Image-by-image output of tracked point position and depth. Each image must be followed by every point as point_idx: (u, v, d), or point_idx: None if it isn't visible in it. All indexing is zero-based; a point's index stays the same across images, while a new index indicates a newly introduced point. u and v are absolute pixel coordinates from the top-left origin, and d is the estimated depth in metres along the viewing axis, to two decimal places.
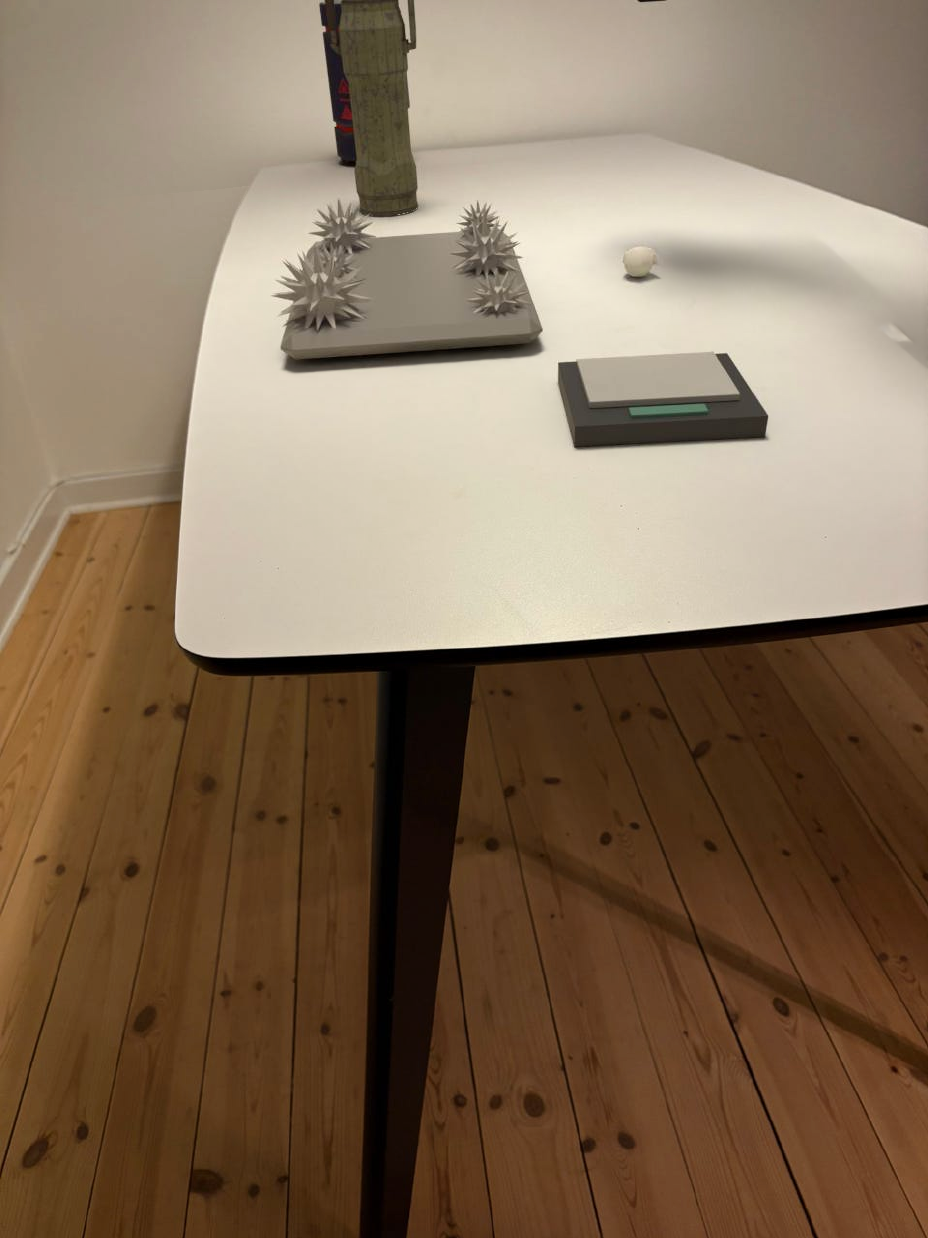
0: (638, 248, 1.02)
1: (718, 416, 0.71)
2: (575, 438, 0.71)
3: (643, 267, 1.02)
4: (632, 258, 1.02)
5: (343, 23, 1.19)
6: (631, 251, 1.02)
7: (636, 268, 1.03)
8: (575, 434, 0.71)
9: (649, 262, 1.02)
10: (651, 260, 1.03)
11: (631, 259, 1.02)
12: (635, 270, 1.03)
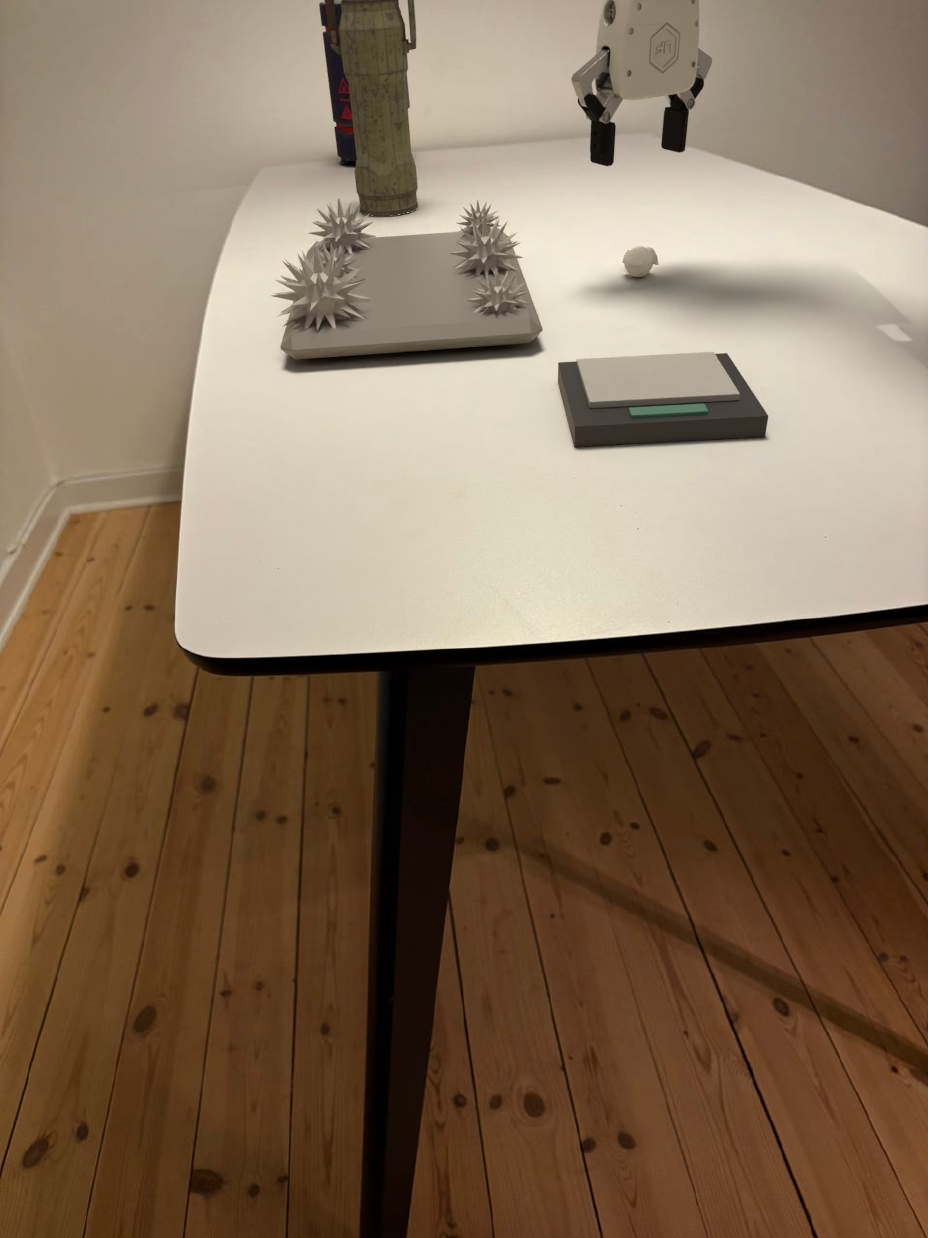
0: (638, 248, 1.02)
1: (718, 416, 0.71)
2: (575, 438, 0.71)
3: (643, 267, 1.02)
4: (632, 258, 1.02)
5: (343, 23, 1.19)
6: (631, 251, 1.02)
7: (636, 268, 1.03)
8: (575, 434, 0.71)
9: (649, 262, 1.02)
10: (651, 260, 1.03)
11: (631, 259, 1.02)
12: (635, 270, 1.03)
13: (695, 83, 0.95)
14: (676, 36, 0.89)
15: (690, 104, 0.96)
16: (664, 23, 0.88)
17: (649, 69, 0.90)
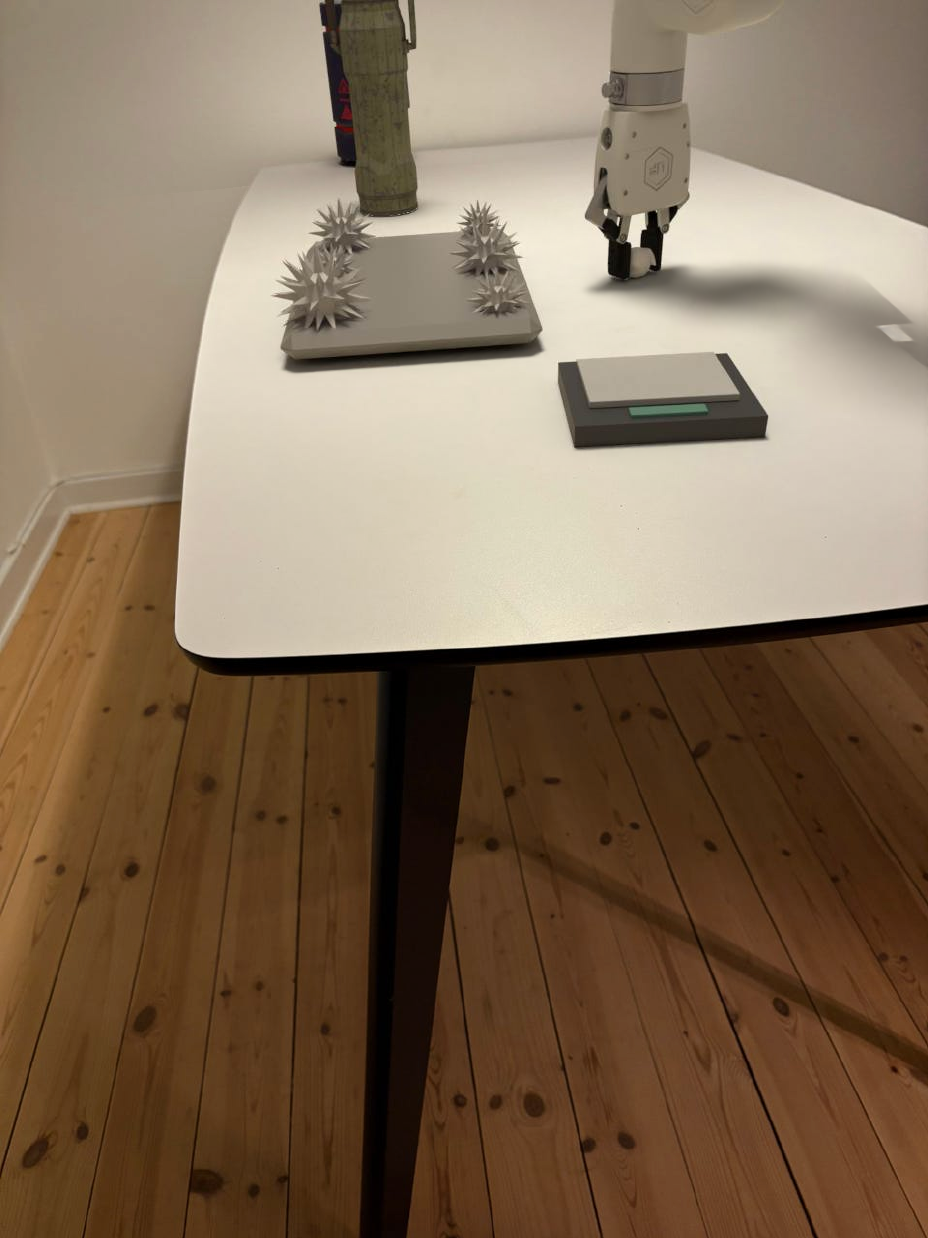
0: (636, 249, 1.02)
1: (718, 416, 0.71)
2: (575, 438, 0.71)
3: (641, 268, 1.02)
4: None
5: (343, 23, 1.19)
6: None
7: (634, 269, 1.02)
8: (575, 434, 0.71)
9: (647, 263, 1.02)
10: (649, 261, 1.02)
11: None
12: (633, 271, 1.03)
13: (669, 210, 1.02)
14: (669, 157, 0.96)
15: (665, 229, 1.02)
16: (657, 147, 0.94)
17: (644, 188, 0.96)
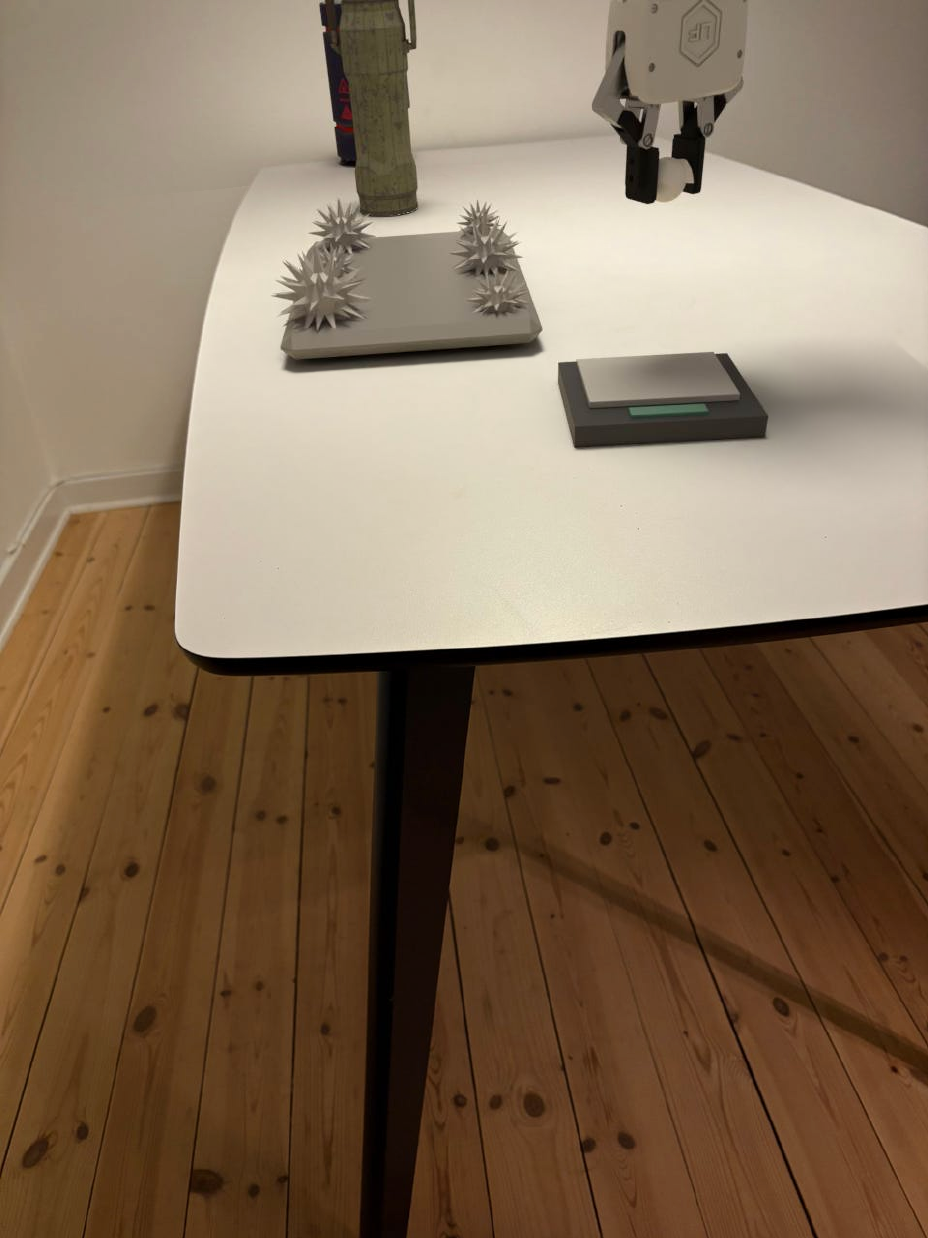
0: (665, 159, 0.72)
1: (718, 416, 0.71)
2: (575, 438, 0.71)
3: (672, 186, 0.72)
4: None
5: (344, 23, 1.19)
6: None
7: (662, 188, 0.72)
8: (575, 434, 0.71)
9: (681, 179, 0.72)
10: (684, 176, 0.72)
11: None
12: (661, 191, 0.72)
13: (714, 102, 0.71)
14: (717, 15, 0.65)
15: (707, 130, 0.71)
16: None
17: (679, 61, 0.65)
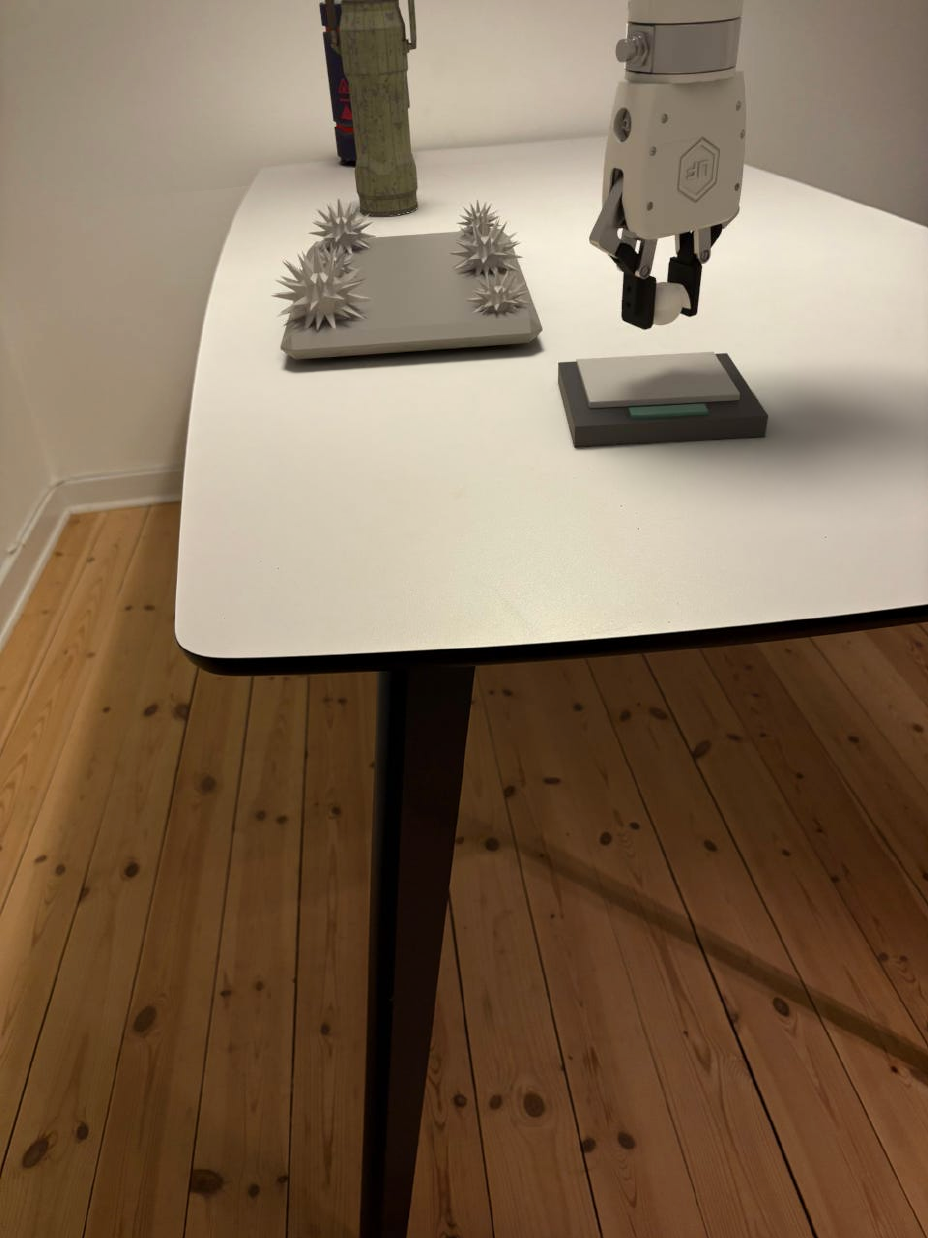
0: (662, 285, 0.71)
1: (718, 416, 0.71)
2: (575, 438, 0.71)
3: (669, 312, 0.71)
4: None
5: (344, 23, 1.19)
6: None
7: (659, 314, 0.71)
8: (575, 434, 0.71)
9: (678, 305, 0.71)
10: (680, 302, 0.71)
11: None
12: (657, 317, 0.72)
13: (710, 229, 0.70)
14: (715, 153, 0.64)
15: (704, 257, 0.71)
16: (698, 138, 0.63)
17: (677, 199, 0.65)
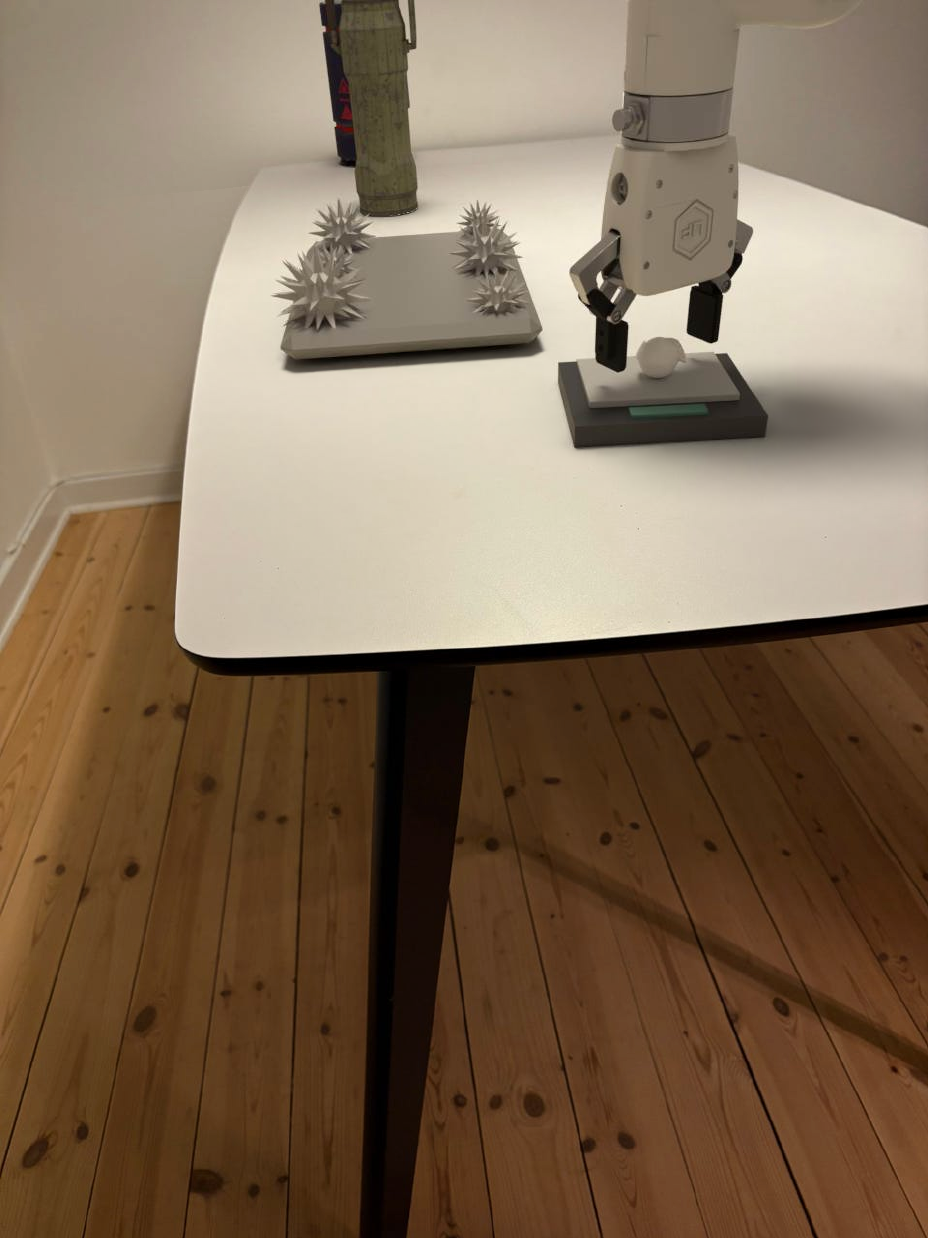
0: (658, 340, 0.74)
1: (718, 416, 0.71)
2: (575, 438, 0.71)
3: (665, 367, 0.74)
4: (650, 355, 0.73)
5: (344, 23, 1.19)
6: (648, 345, 0.74)
7: (655, 368, 0.74)
8: (575, 434, 0.71)
9: (673, 360, 0.74)
10: (676, 357, 0.74)
11: (649, 356, 0.74)
12: (654, 371, 0.74)
13: (731, 260, 0.73)
14: (708, 214, 0.67)
15: (725, 286, 0.74)
16: (692, 200, 0.66)
17: (673, 258, 0.67)
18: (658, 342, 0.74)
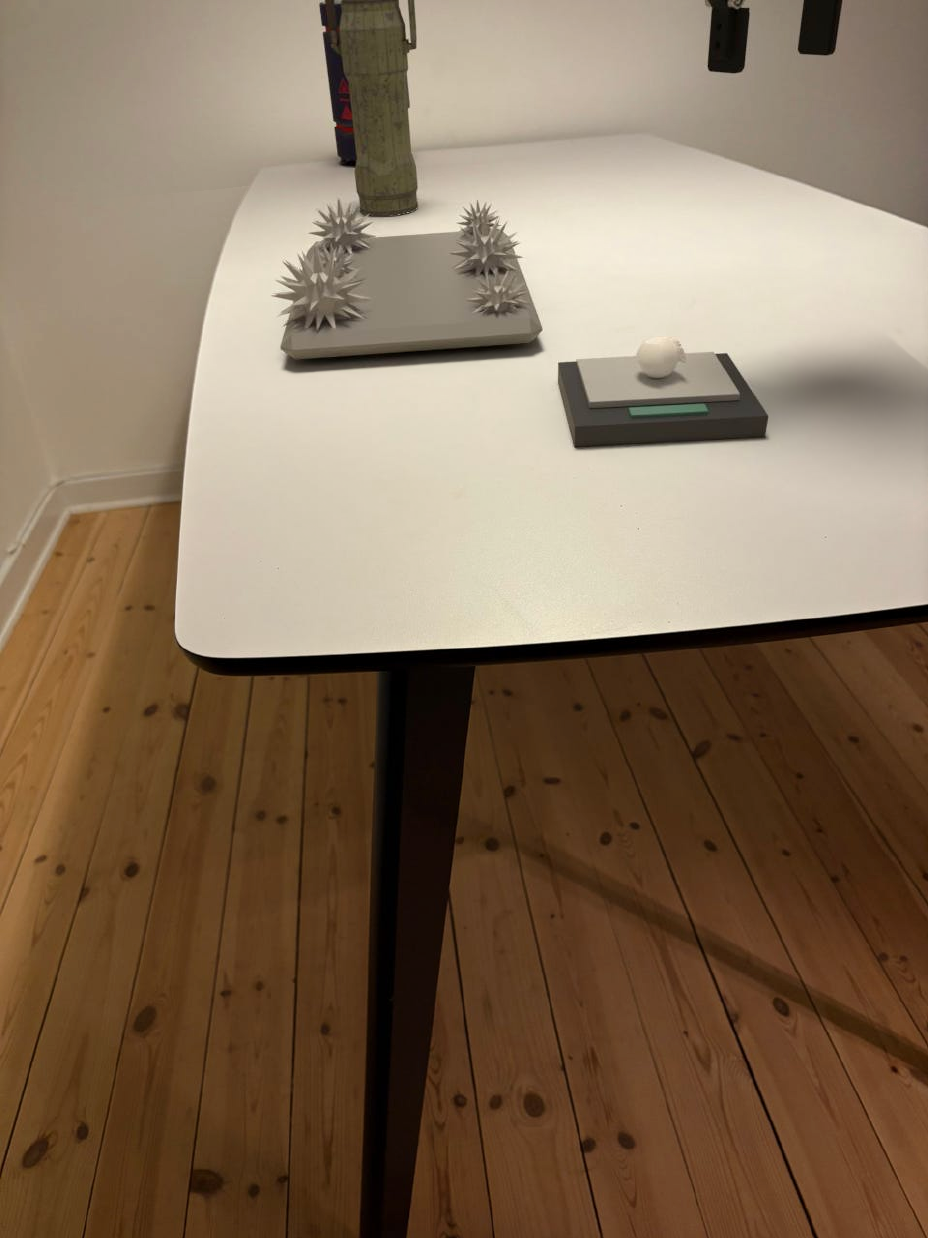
0: (658, 340, 0.74)
1: (718, 416, 0.71)
2: (575, 438, 0.71)
3: (665, 367, 0.74)
4: (650, 355, 0.73)
5: (344, 23, 1.19)
6: (648, 345, 0.74)
7: (655, 368, 0.74)
8: (575, 434, 0.71)
9: (673, 360, 0.74)
10: (676, 357, 0.74)
11: (649, 356, 0.74)
12: (654, 371, 0.74)
13: None
14: None
15: None
16: None
17: None
18: (658, 342, 0.74)
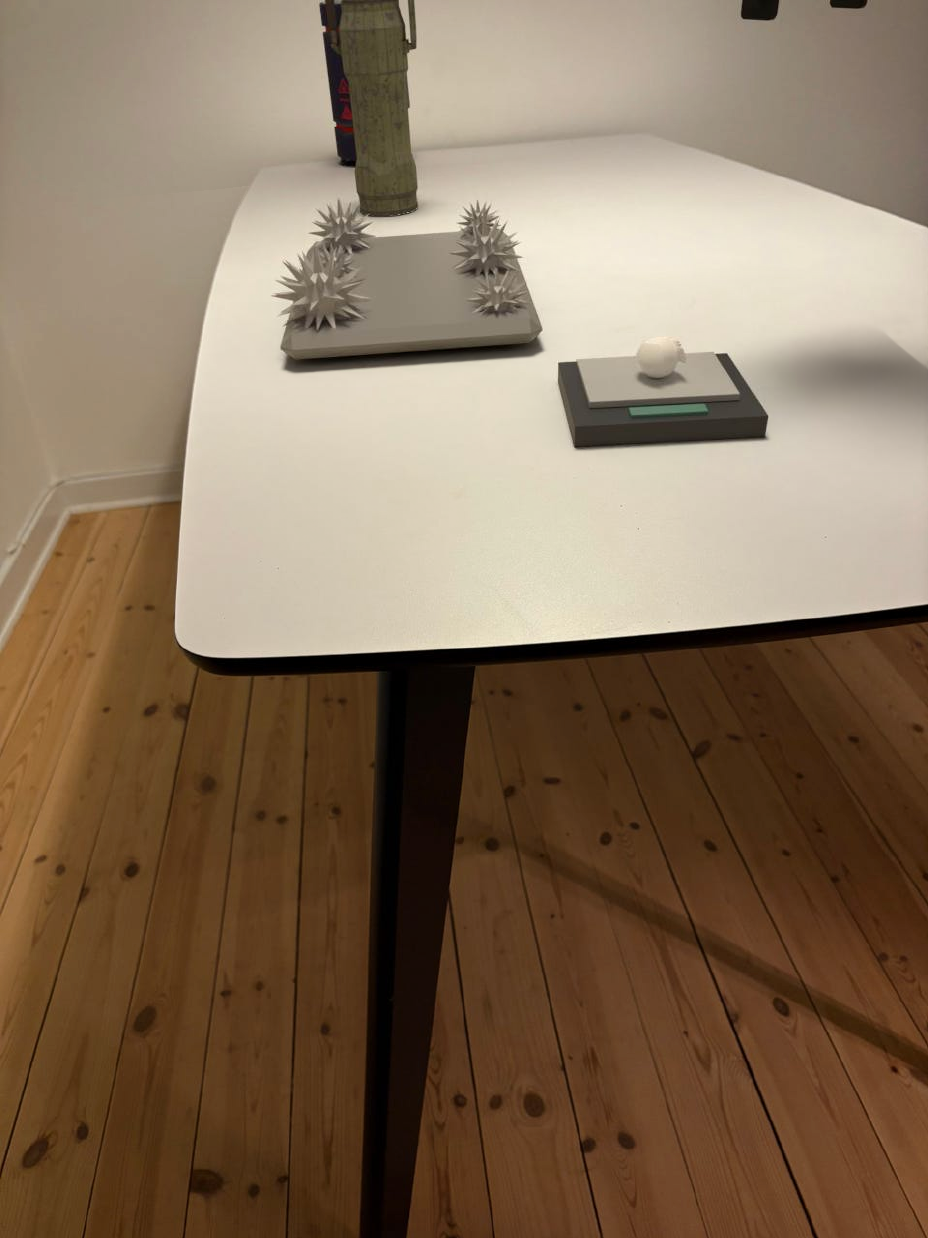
0: (658, 340, 0.74)
1: (718, 416, 0.71)
2: (575, 438, 0.71)
3: (665, 367, 0.74)
4: (650, 355, 0.73)
5: (344, 23, 1.19)
6: (648, 345, 0.74)
7: (655, 368, 0.74)
8: (575, 434, 0.71)
9: (673, 360, 0.74)
10: (676, 357, 0.74)
11: (649, 356, 0.74)
12: (654, 371, 0.74)
13: None
14: None
15: None
16: None
17: None
18: (658, 342, 0.74)
